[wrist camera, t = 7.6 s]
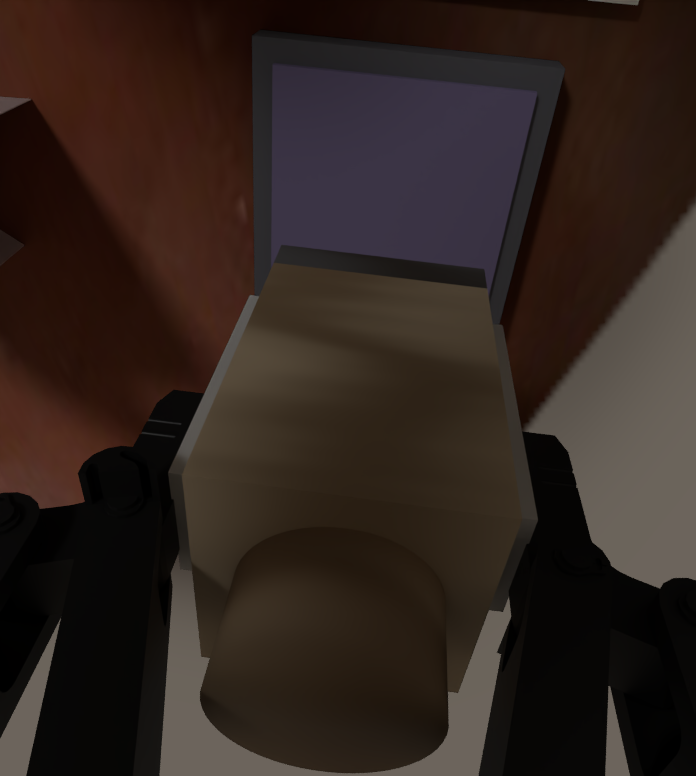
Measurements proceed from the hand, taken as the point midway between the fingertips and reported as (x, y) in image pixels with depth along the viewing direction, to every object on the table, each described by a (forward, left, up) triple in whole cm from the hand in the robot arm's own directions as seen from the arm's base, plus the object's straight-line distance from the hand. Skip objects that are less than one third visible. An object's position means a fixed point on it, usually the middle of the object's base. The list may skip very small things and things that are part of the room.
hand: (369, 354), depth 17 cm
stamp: (0, 0, 0) cm, 0 cm away
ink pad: (0, 0, -12) cm, 12 cm away
